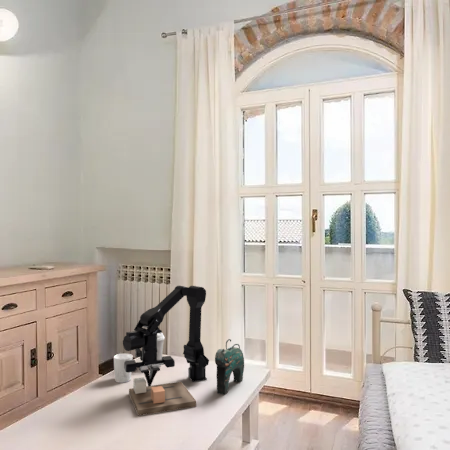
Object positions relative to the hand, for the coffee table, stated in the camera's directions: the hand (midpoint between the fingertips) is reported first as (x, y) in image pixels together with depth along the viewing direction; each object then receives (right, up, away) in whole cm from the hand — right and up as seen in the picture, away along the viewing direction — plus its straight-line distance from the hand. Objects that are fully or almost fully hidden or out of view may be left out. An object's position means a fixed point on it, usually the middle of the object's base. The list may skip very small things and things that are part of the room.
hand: (149, 385), depth 161 cm
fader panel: (+5, -4, -4) cm, 8 cm away
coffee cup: (-4, -4, +33) cm, 34 cm away
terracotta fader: (+5, -1, -10) cm, 11 cm away
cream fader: (-3, -1, -1) cm, 4 cm away
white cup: (-14, -4, +16) cm, 22 cm away
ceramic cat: (+31, -4, +9) cm, 33 cm away
